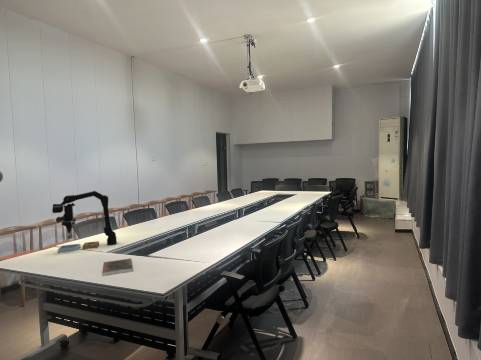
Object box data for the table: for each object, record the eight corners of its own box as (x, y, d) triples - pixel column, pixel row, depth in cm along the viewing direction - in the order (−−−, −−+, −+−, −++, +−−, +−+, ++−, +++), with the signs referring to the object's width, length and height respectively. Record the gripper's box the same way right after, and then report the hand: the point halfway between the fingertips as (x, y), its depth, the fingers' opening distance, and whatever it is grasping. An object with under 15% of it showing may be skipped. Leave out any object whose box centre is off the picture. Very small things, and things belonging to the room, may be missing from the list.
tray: (80, 247, 246) (80, 243, 246) (77, 251, 235) (77, 247, 235) (62, 249, 242) (61, 245, 242) (58, 253, 232) (57, 249, 231)
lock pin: (73, 237, 241) (72, 224, 240) (72, 238, 237) (71, 225, 237) (68, 238, 240) (67, 225, 239) (67, 239, 236) (66, 225, 236)
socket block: (99, 245, 249) (98, 241, 249) (97, 248, 240) (97, 244, 239) (85, 247, 246) (85, 242, 246) (82, 250, 237) (82, 245, 237)
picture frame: (132, 271, 185) (131, 261, 205) (132, 267, 184) (131, 257, 204) (102, 276, 179) (103, 265, 199) (102, 272, 178) (103, 261, 199)
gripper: (59, 211, 244) (61, 231, 245) (53, 214, 226) (54, 236, 227) (75, 210, 247) (76, 229, 248) (70, 213, 229) (71, 234, 230)
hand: (69, 232), depth 238 cm, fingers closed on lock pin, 3 cm apart
